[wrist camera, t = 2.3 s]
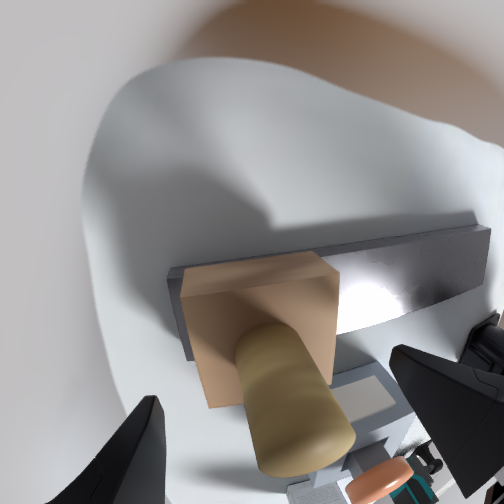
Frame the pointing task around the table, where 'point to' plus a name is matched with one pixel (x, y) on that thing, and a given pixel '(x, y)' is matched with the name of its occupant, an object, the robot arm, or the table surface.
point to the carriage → (272, 354)
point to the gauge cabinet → (367, 415)
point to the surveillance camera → (419, 479)
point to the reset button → (375, 473)
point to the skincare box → (315, 494)
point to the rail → (385, 275)
